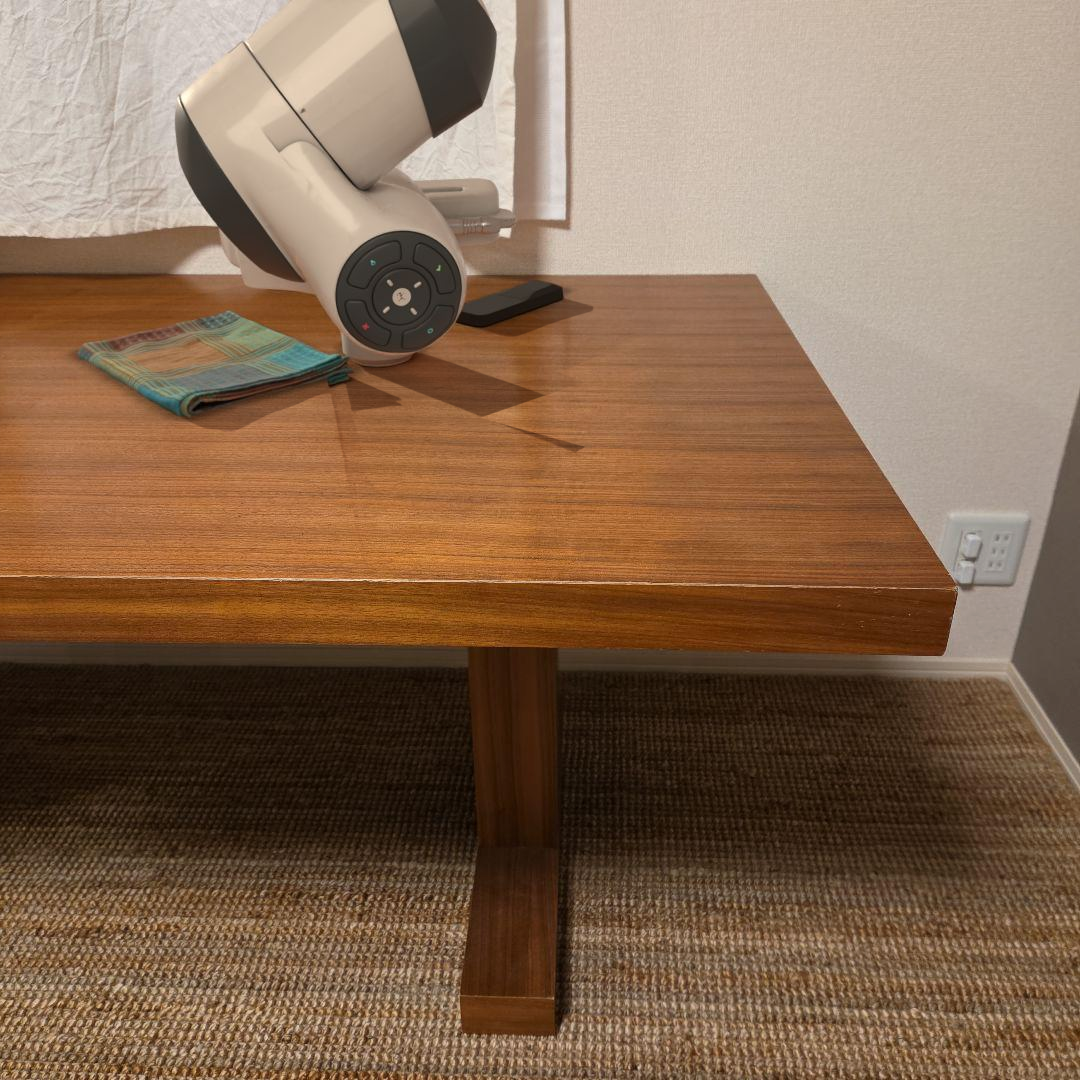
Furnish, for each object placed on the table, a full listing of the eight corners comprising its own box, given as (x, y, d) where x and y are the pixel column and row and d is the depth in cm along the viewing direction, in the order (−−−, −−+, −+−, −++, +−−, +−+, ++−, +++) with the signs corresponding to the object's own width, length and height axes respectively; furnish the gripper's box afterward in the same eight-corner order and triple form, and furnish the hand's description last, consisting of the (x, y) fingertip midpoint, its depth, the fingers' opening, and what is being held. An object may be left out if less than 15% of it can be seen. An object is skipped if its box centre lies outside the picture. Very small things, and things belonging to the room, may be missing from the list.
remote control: (481, 333, 108) (567, 297, 118) (480, 316, 107) (566, 282, 117) (448, 324, 111) (534, 290, 121) (447, 308, 110) (534, 275, 120)
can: (380, 340, 104) (370, 221, 99) (435, 353, 100) (427, 230, 95) (327, 360, 99) (313, 235, 93) (383, 374, 95) (371, 245, 89)
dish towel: (184, 430, 84) (178, 401, 82) (74, 363, 99) (68, 337, 98) (357, 380, 94) (354, 353, 93) (234, 326, 109) (230, 303, 108)
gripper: (522, 177, 68) (482, 148, 79) (205, 190, 63) (212, 157, 75) (523, 271, 71) (484, 230, 82) (221, 290, 66) (225, 243, 78)
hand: (352, 195), depth 79 cm, fingers open, 8 cm apart
